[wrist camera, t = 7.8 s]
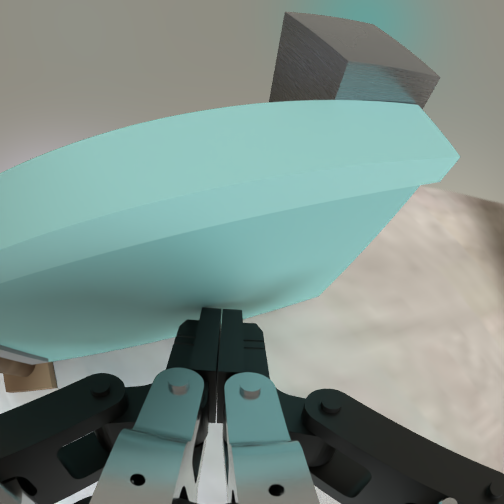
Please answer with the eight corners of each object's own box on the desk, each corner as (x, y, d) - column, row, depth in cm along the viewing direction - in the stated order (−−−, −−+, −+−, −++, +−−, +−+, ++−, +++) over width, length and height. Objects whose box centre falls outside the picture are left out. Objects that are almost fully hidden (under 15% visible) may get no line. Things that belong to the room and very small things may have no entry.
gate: (42, 368, 12) (-125, 308, 2) (38, 336, 12) (-117, 251, 2) (322, 300, 15) (460, 157, 5) (310, 270, 16) (418, 104, 6)
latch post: (298, 218, 18) (376, 20, 7) (326, 282, 17) (471, 98, 5) (230, 234, 17) (250, 4, 6) (254, 304, 16) (336, 79, 4)
